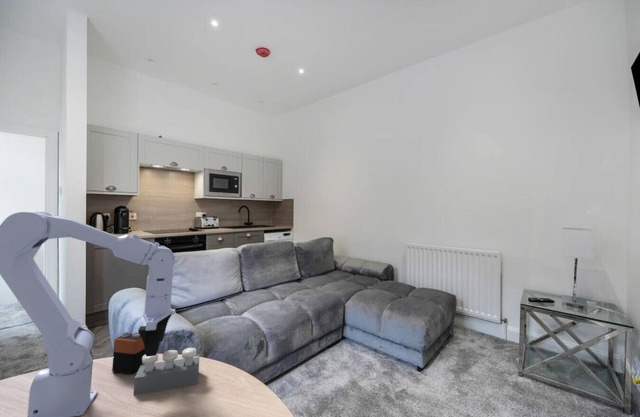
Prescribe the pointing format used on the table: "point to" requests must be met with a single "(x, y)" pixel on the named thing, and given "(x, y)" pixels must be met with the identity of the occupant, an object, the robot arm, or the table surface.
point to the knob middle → (170, 358)
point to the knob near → (149, 362)
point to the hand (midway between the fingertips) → (154, 348)
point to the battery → (128, 353)
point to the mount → (166, 376)
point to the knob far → (189, 356)
